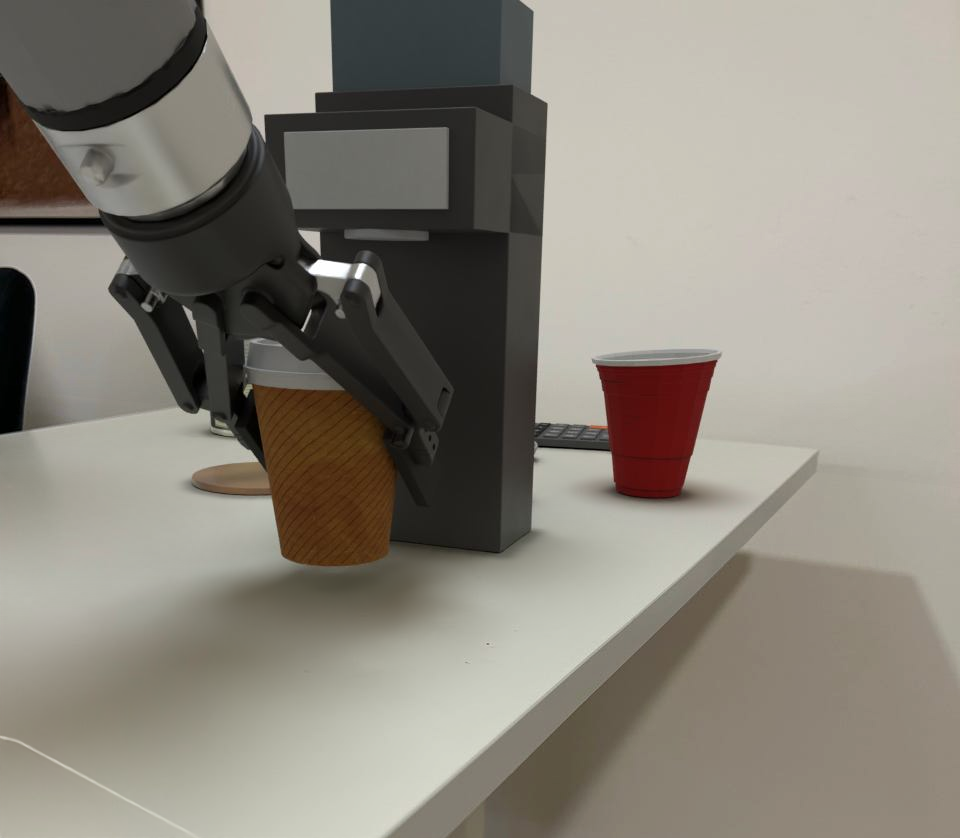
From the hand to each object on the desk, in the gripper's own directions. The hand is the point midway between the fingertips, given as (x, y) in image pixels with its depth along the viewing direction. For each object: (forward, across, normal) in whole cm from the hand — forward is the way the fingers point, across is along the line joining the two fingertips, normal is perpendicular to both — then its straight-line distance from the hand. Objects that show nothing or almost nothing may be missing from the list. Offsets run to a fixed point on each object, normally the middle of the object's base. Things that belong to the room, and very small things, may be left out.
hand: (359, 480), depth 60 cm
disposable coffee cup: (0, 0, -5) cm, 5 cm away
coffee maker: (+10, 0, +2) cm, 10 cm away
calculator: (+44, -3, +36) cm, 57 cm away
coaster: (+19, -21, +11) cm, 31 cm away
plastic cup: (+27, +12, +18) cm, 35 cm away
